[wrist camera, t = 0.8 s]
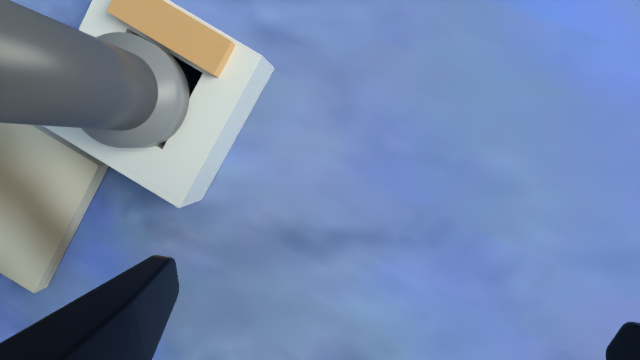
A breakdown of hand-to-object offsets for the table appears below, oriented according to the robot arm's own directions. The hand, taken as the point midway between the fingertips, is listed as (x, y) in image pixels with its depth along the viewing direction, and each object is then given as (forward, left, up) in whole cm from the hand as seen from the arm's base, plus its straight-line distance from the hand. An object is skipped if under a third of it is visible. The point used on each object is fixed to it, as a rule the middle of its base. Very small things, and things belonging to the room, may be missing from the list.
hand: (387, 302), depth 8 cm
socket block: (-1, +13, -14) cm, 19 cm away
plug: (-1, +13, -14) cm, 19 cm away
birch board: (-11, +19, -14) cm, 25 cm away
